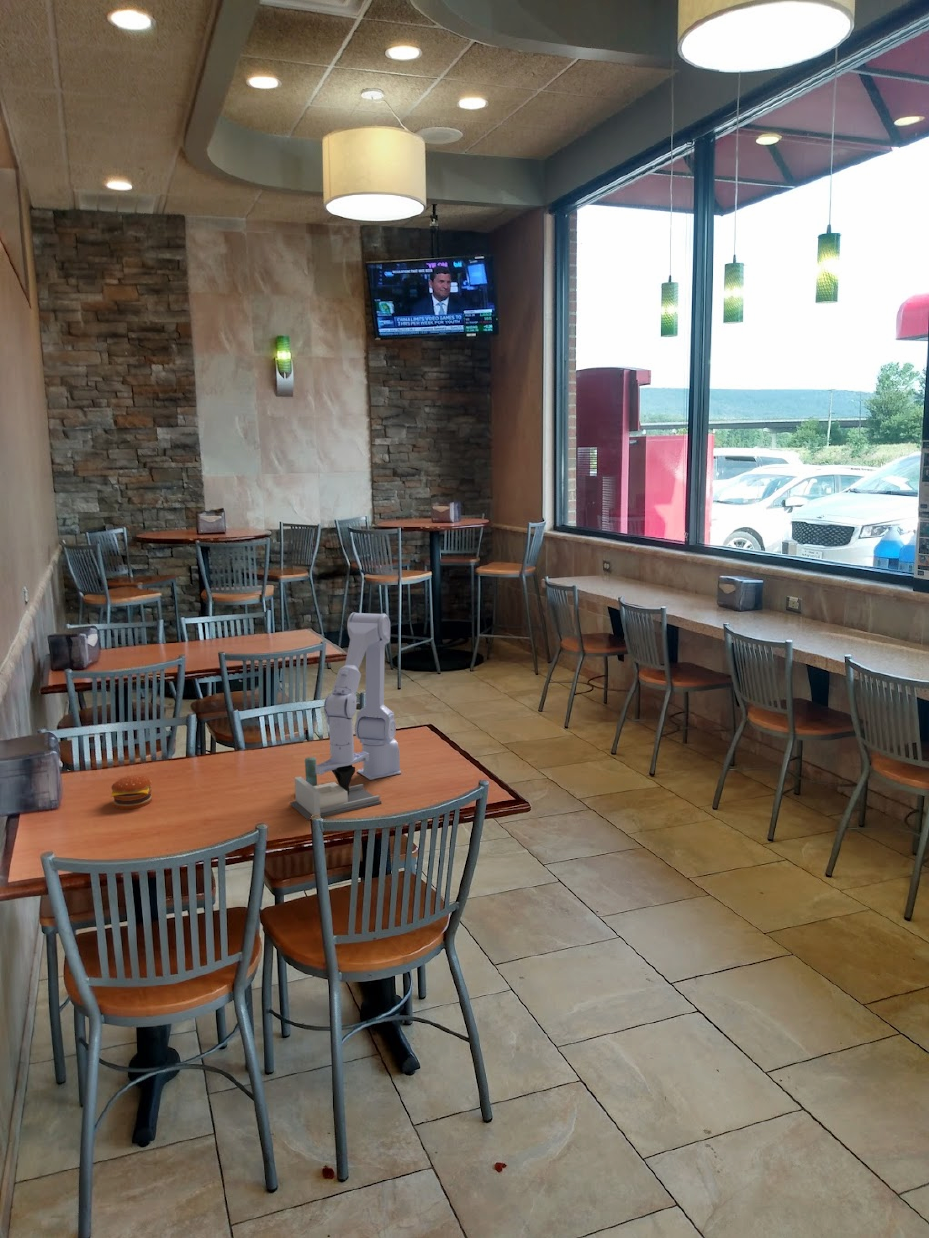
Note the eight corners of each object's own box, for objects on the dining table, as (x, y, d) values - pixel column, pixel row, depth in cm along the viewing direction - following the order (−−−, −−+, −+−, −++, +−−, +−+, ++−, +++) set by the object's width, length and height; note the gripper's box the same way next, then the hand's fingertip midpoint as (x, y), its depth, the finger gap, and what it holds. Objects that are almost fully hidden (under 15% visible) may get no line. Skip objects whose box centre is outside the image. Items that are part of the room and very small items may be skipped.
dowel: (314, 786, 238) (313, 756, 236) (319, 789, 235) (317, 759, 234) (304, 788, 236) (303, 758, 235) (308, 791, 234) (307, 761, 232)
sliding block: (334, 795, 229) (334, 781, 229) (347, 805, 223) (347, 791, 222) (304, 801, 225) (303, 788, 225) (317, 812, 219) (316, 798, 218)
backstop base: (360, 788, 235) (359, 764, 234) (381, 803, 225) (380, 777, 224) (290, 804, 226) (288, 778, 224) (308, 820, 215) (307, 793, 214)
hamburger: (152, 807, 225) (149, 781, 224) (110, 812, 223) (108, 786, 222) (154, 793, 234) (152, 769, 233) (115, 798, 232) (112, 773, 231)
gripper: (356, 731, 231) (358, 783, 234) (307, 745, 222) (310, 798, 224) (373, 737, 226) (375, 790, 229) (323, 751, 217) (326, 806, 219)
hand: (344, 794), depth 226 cm, fingers closed, pressing on sliding block
